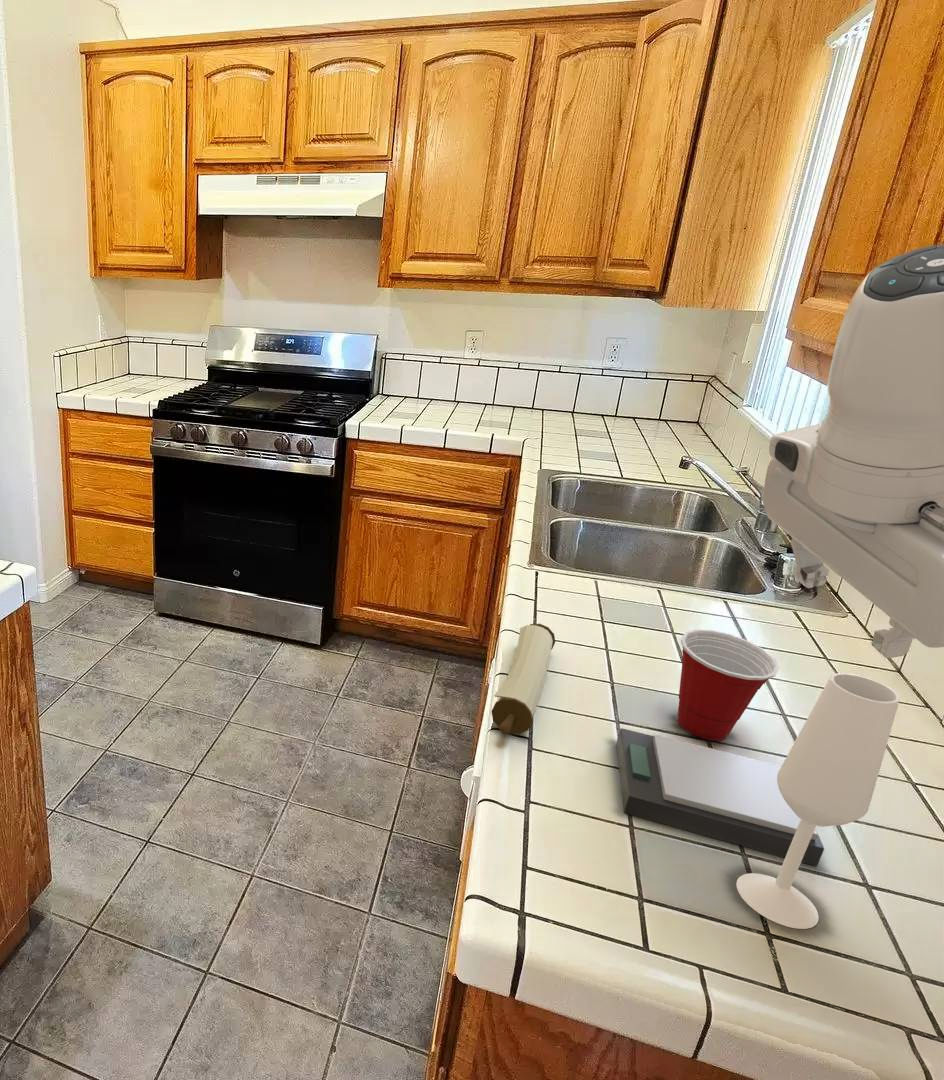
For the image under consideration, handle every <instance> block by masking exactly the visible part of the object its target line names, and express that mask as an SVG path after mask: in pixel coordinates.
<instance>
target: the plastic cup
mask: <svg viewBox="0 0 944 1080" xmlns="http://www.w3.org/2000/svg"><path fill="white" fill-rule="evenodd" d="M680 642H681V646H682V652H681V653H682V656H681V661H682V663H681V670H680V671H681V672H680V681H679V689H678V690H679V691H678V699H679V700H678V706H677V707H678V709H677V721H678V725H679V726H680V727H681V728H682V729H683V730H684V731H686V732H688V733H689V734H691V735H692V736H695V737H698V738H700V739H702V740H703V739H704V740H708V741H723V740H725V739H726V738H727V737H728V736H729V735H730V734H731V732H732V730H733V729H734V727H735V725H736V723H737V722H738V721H739V720H740V719H741V718H742V716H743V714H744V713H745V711H746V710H747V708H748V706H749V705H750V703H751V702H752V700H754V699H753V698H754V697H755V695H756V694H757V692H758V691H759V690H760V689H761V688H762V687H763V686H764V685H765V684H766V682H767V681H769V680H770V679H772V678H774V677H776V675H778V673H779V671H780V666H779V663H778V662H777V660H776V658H774V657H773V656H772V655H771V654H770V653H769V652H767V651H766V650H765V649H764V648H763V647H760V646H758V645H756V644H755V643H753V642H751V641H749V640H748V639H745V638H742V637H739V636H737V635H734V634H731V633H729V632H728V633H727V632H723V631H720V630H719V631H718V630H715V629H701V628H700V629H697V628H695V629H691V630H688V631H685V632H684V634H683V635H682V636H681V637H680Z"/></svg>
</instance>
